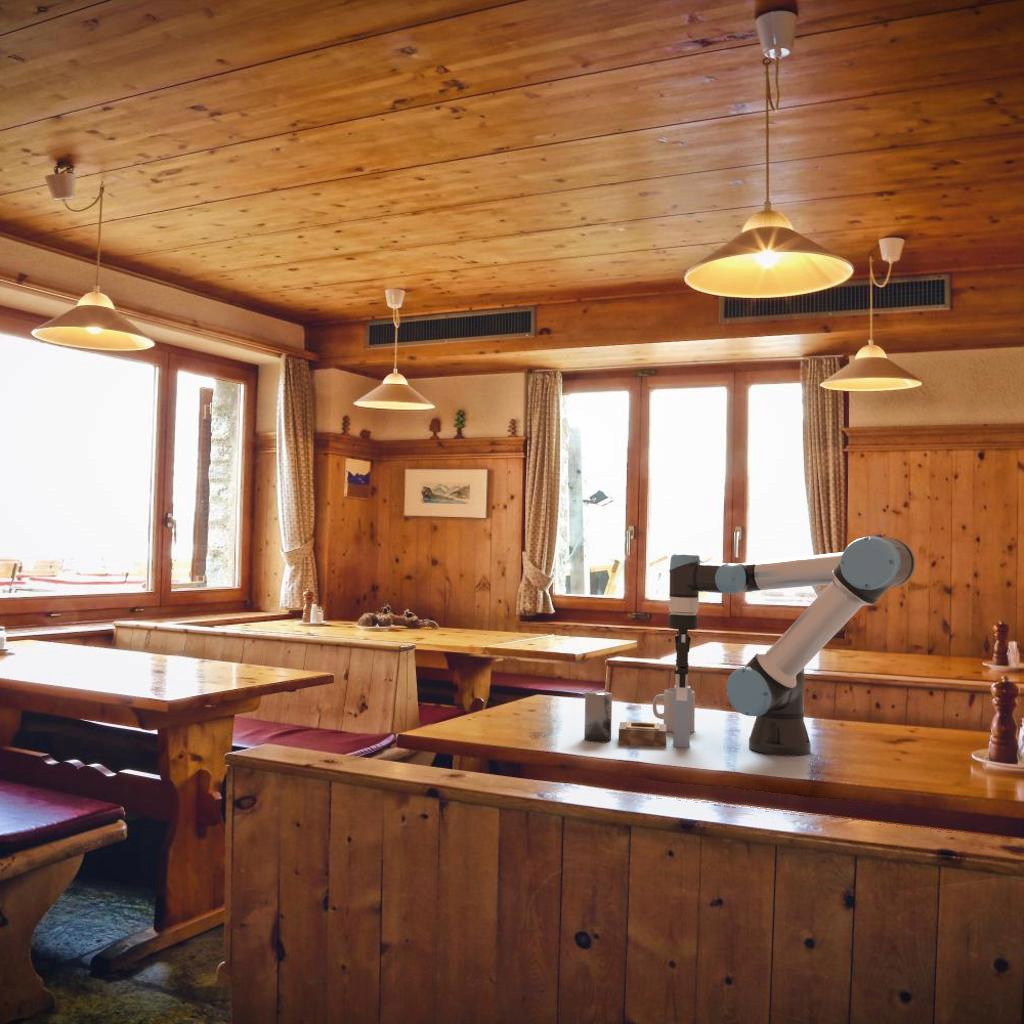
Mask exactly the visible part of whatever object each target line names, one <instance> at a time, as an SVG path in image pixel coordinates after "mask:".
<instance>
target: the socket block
mask: <svg viewBox="0 0 1024 1024" xmlns="http://www.w3.org/2000/svg"><path fill="white" fill-rule="evenodd" d="M626 721H627V720H626ZM626 721H624V722H623V721H621V722H619V727H618V745H619V746H620V745H621V746H636V747H640V746H641V747H655V748H656V747H657V748H667V731H666V724H664V723H663V724H662V723H660V722H648V721H647V722H646V721H645V722H644V721H627V722H626Z"/></svg>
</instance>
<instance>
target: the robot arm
mask: <svg viewBox="0 0 1024 1024" xmlns="http://www.w3.org/2000/svg"><path fill="white" fill-rule="evenodd" d="M669 561H670V564H669V570H668V573H669V594H668V595H669V598H668V599H667V600H666V604H668V611H669V612H670V613H669V614H668V621H667V622H668V624H667V626H668V627H667V628H669V629H672V630H677V631H676V635H674V643H675V646H674V647H675V652H676V659H675V666H676V667H675V670H674V675H675V685H677V687H676V700H680V701H687V688H688V686H689V685H688V683H689V681H688V679H689V664H690V663H689V652H690V649H691V647H690V645H691V636H690V635H689V634H688V630H689V631H695V630H698V628H699V625H698V624H699V616H698V615H697V613H699V602H700V600H699V599H700V598H699V596H700V595H699V594H700V593H703V592H704V593H715V594H716V593H717V594H723V595H724V594H725V595H733V594H734V595H735V594H736V595H737V594H740V593H751V592H757V591H769V590H781V589H791V588H792V589H793V588H803V587H815V586H824V585H825V586H826V587H825V588H824V589H823V591H822V592H820V594H819V595H818V596H817V597H816V598H815V599H814V600H813V601H812V602H811V604H810V605H809V606H808V607H807V608H806V609H805V610H804V611H803V612H802V613H801V614H800V615H799V616H798V618H797V619H796V620H795V621H794V622H793V623H792V624H791V626H789V627H788V628H787V630H785V632H784V633H783V634H782V635H781V636H780V637H779V638H778V639H777V641H776V642H775V643H773V645H772V646H771V647H770V648H769V649H768V650H759V651H758V652H757V653H755V655H754V656H753V657H752V658H751V659H750V660H749V662H747V664H746V665H745V666H743V667H738V668H737V669H736V670H734V671H732V672H731V674H730V675H729V676H728V678H727V680H726V687H725V688H726V696H727V699H728V701H729V704H730V705H731V706H732V707H733V708H734V710H736V712H738V713H740V714H741V715H744V716H747V717H755V720H754V723H753V726H752V729H751V733H750V736H749V739H748V748H749V749H750V750H752V751H754V752H758V753H763V754H766V755H767V754H768V755H774V756H775V755H776V756H804V755H807V754H808V755H809V754H810V753H811V751H812V750H811V749H812V748H811V747H812V745H811V741H810V738H809V733H808V730H807V727H806V724H805V718H804V717H805V678H806V673H805V667H806V666H807V665H808V663H810V662H811V661H812V660H813V658H814V657H815V656H817V654H818V653H819V652H821V650H822V649H823V648H824V647H825V646H826V645H827V644H828V643H829V641H830V640H832V639H833V637H834V636H836V634H838V632H839V631H840V630H841V629H842V628H843V627H844V626H845V625H846V624H847V623H848V622H849V621H850V620H851V618H853V616H854V615H855V614H856V613H857V612H858V611H859V610H860V609H861V608H862V607H863V606H873V605H875V603H876V602H877V601H878V600H879V599H880V598H881V597H882V596H883V595H884V594H885V593H886V592H887V591H888V590H889V589H890V588H891V589H892V588H898V587H900V586H902V585H904V584H905V583H907V582H908V581H909V580H910V579H911V578H912V576H913V574H914V572H915V569H916V558H915V555H914V552H913V550H912V549H911V547H910V546H909V545H907V544H906V543H905V542H904V541H901V540H900V539H898V538H897V539H896V538H892V537H882V536H877V535H869V536H864V537H860V538H857V539H855V540H853V541H852V542H851V543H849V544H848V545H847V546H846V547H845V549H844V550H843V551H841V552H833V553H825V554H816V555H815V554H814V555H807V556H798V557H789V558H780V559H779V558H778V559H768V560H759V561H750V562H741V563H735V562H703V561H701V559H700V555H698V554H693V553H692V554H690V553H673V554H672V555H671V556H670V560H669Z"/></svg>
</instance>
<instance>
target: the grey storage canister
mask: <svg viewBox="0 0 1024 1024" xmlns="http://www.w3.org/2000/svg"><path fill="white" fill-rule="evenodd" d="M584 694H585V695H584V736H583V737H584V738H583V739H584V740H585V741H586V742H591V743H592V742H593V743H608V742H611V741H612V718H613V717H612V716H613V715H612V712H613V711H612V710H613V709H612V706H613V693H611V692H608V691H607V692H606V691H597V690H595V691H586V692H585V693H584Z"/></svg>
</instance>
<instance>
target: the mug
mask: <svg viewBox="0 0 1024 1024" xmlns="http://www.w3.org/2000/svg"><path fill="white" fill-rule="evenodd" d="M695 699H696V691H694V690H693V689H690V734H691V733H694V732H695V723H696V722H695V721H696V720H695V717H696V716H695V714H696V713H695V709H696V706H695V705H696V704H695V702H696V700H695ZM659 700H660V701H663V712H662V713H660V712H658V709H657V704H658V701H659ZM652 712H653V713H652V714H653V715H654V717H655V718H657V719H660V720H663V724H666V732H668V733H674V688H666V689H664V691H663V693H661V694H657V695H655V696H654V698H653V701H652Z"/></svg>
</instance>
